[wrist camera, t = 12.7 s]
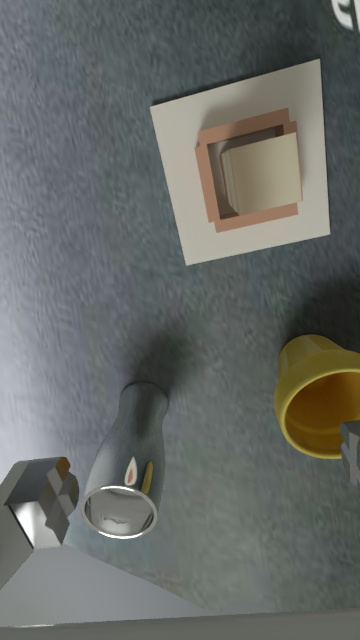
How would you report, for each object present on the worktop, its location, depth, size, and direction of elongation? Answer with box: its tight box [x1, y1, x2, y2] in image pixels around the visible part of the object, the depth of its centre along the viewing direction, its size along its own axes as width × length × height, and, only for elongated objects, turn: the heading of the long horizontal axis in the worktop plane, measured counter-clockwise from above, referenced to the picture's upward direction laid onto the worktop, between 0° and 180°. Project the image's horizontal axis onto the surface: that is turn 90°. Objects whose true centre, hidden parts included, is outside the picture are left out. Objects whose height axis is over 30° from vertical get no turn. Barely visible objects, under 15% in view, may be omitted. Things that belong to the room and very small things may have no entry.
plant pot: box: [274, 334, 360, 459], centre depth 34 cm, size 10×10×10 cm
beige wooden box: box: [220, 132, 302, 215], centre depth 26 cm, size 4×4×10 cm
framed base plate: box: [150, 59, 330, 265], centre depth 29 cm, size 14×14×4 cm
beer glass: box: [80, 382, 168, 539], centre depth 35 cm, size 7×7×15 cm
